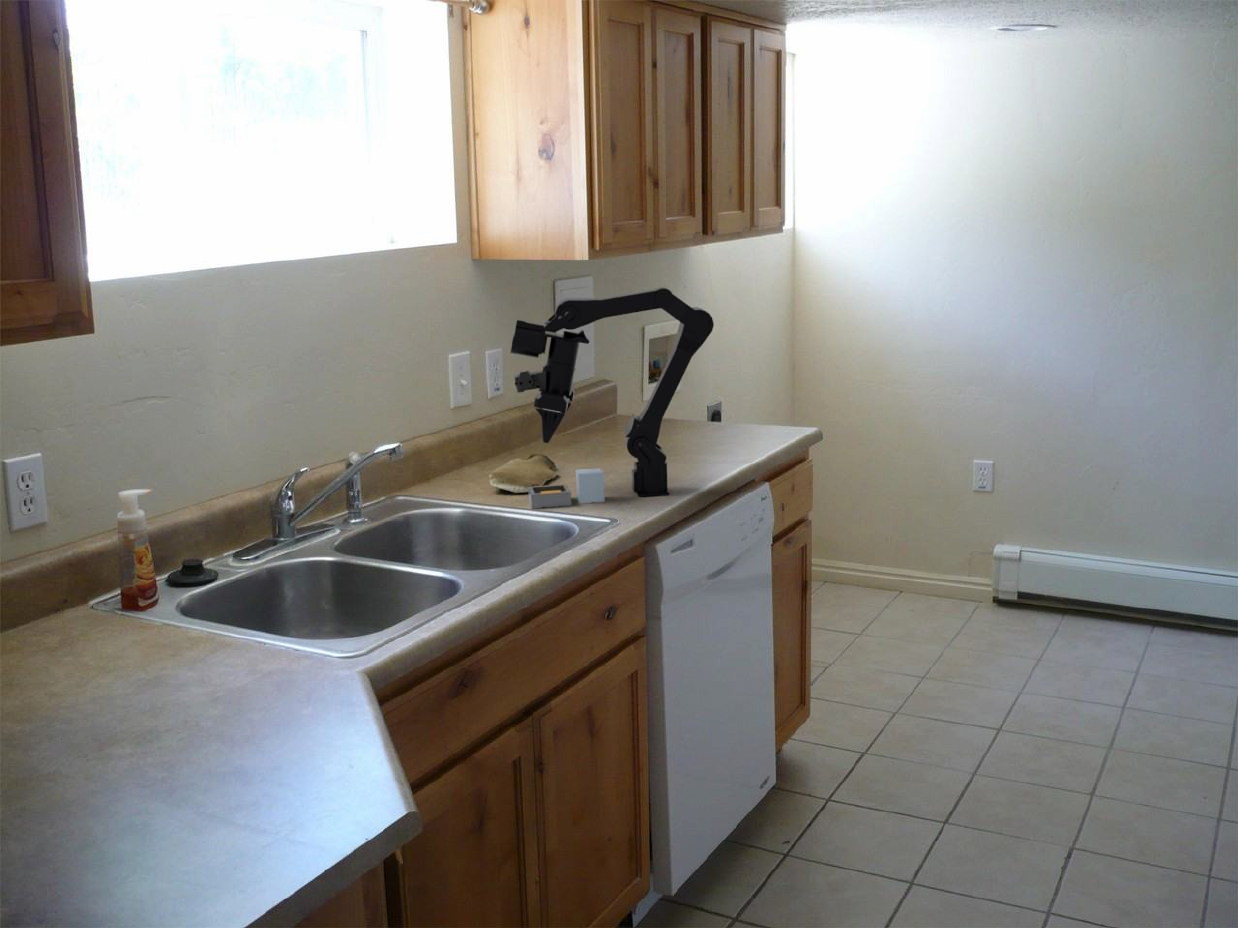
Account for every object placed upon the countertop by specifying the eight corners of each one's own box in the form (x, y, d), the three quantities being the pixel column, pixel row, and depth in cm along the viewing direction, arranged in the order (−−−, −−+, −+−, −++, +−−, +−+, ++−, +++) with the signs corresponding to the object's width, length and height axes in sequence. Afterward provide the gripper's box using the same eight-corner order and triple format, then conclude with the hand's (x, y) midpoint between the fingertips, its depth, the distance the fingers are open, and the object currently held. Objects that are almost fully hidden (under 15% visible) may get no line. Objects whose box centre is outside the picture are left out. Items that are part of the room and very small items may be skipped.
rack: (567, 497, 246) (566, 482, 245) (571, 505, 239) (570, 490, 238) (528, 500, 245) (527, 485, 244) (531, 508, 238) (531, 493, 237)
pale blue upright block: (601, 497, 245) (600, 468, 244) (604, 501, 242) (603, 472, 240) (576, 498, 245) (575, 469, 243) (579, 503, 241) (578, 474, 240)
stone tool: (518, 465, 274) (479, 493, 251) (520, 448, 273) (480, 474, 250) (568, 474, 272) (532, 502, 248) (569, 456, 271) (534, 483, 247)
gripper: (527, 349, 250) (514, 423, 253) (514, 359, 232) (501, 439, 235) (580, 359, 250) (567, 433, 253) (572, 370, 231) (558, 449, 234)
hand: (548, 438), depth 244 cm, fingers open, 9 cm apart
